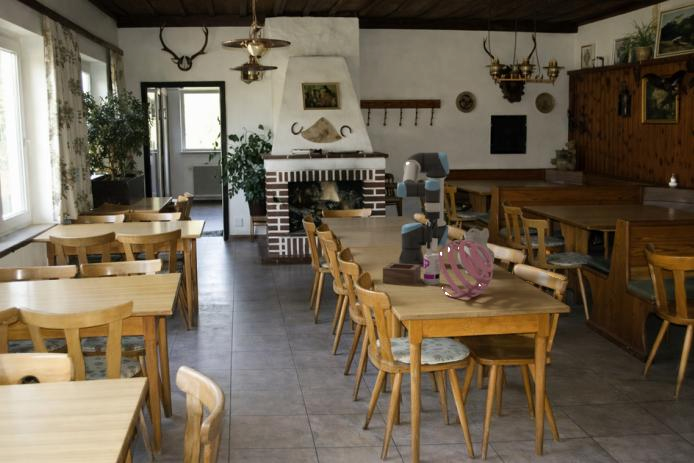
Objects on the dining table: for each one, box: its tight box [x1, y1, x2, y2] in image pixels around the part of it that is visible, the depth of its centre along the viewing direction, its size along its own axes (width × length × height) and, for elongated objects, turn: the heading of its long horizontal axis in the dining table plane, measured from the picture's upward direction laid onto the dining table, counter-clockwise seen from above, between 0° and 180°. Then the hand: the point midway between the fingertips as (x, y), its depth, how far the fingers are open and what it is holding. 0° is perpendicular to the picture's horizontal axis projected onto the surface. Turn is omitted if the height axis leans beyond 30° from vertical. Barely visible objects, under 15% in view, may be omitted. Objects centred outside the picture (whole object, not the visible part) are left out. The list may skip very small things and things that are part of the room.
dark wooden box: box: [382, 262, 422, 286], centre depth 393 cm, size 16×16×8 cm
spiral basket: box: [438, 239, 494, 299], centre depth 357 cm, size 28×28×27 cm
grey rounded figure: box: [457, 227, 495, 275], centre depth 411 cm, size 22×20×25 cm
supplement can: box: [422, 252, 441, 286], centre depth 386 cm, size 8×8×15 cm
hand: (431, 253), depth 384 cm, fingers open, 13 cm apart
